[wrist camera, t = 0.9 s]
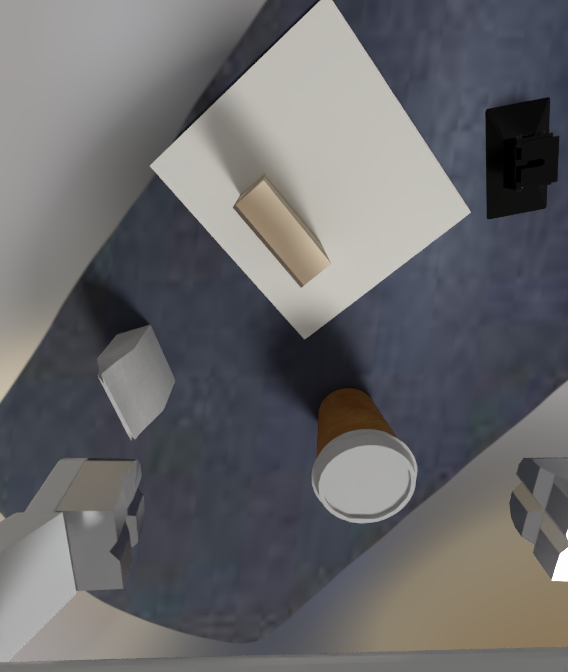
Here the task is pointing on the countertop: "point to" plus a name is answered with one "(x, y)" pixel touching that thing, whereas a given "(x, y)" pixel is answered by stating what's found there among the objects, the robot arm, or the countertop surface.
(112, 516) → the robot arm
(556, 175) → the black mounting plate
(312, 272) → the letter block
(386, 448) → the disposable coffee cup
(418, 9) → the countertop surface
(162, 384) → the grey angular block
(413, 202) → the felt mat
